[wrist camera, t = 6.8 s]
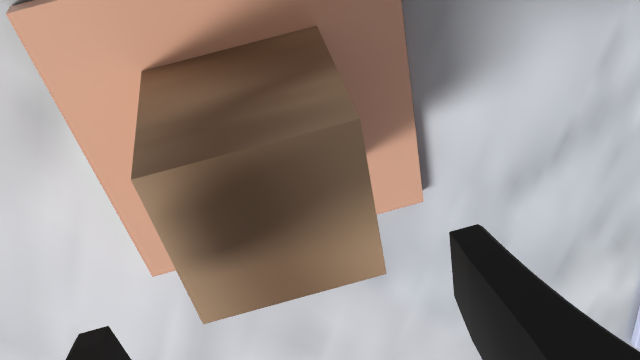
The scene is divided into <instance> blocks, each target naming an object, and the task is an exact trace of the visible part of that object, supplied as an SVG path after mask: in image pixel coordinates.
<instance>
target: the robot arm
mask: <svg viewBox="0 0 640 360" xmlns="http://www.w3.org/2000/svg"><path fill="white" fill-rule="evenodd" d="M449 234H450V247H451V260H452V273H453V286H454V296H455V299H456V301H457V304H458V306H459V309H460V312H461V314H462V317H463V319H464V322H465V324H466V326H467V329H468V331H469V334H470V336H471V338H472V341H473V343H474V344H475V346H476V348H477V350H478V352H479V354H480V356H481V358H482V359H483V360H640V352H639V351H638V350H636V349H640V307H639V311H638V315H637V319H636V324H635V328H634V332H633V336H632V344H633V345H634V347H635V348H636V349H634V348H633V347H631V346H630V345H628V344H627V343H625V342H624V341H622V340H621V339H619V338H618V337H616V336H615V335H613V334H612V333H610V332H609V331H608V330H606V329H605V328H603V327H602V326H600V325H599V324H598V323H596V322H595V321H594V320H592V319H591V318H589V317H588V316H587V315H585V314H584V313H583V312H581V311H580V310H579V309H577V308H576V307H575V306H573V305H572V304H571V303H569V302H568V301H567V300H565V299H564V298H563V297H562V296H561V295H559V294H558V293H557V292H556V291H554V290H553V289H552V288H551V287H549V286H548V285H547V284H546V283H544V282H543V281H542V280H541V279H540V278H538V277H537V276H536V275H535V274H534V273H532V272H531V271H530V270H529V269H528V268H527V267H525V266H524V265H523V264H522V263H521V262H520V261H519V260H518V259H516V258H515V257H514V256H513V255H512V254H511V253H510V252H509V251H508V250H506V249H505V248H504V247H503V246H502V245H501V244H500V243H499V242H498V241H497V240H496V239H495V238H494V237H493V236H492V235H491V234H490V233H489V232H488V231H487V230H486V229H485V228H484V227H482V226H480V225H478V224H477V225H473V226H469V227H466V228H462V229H459V230H455V231H451V232H449ZM66 360H131V359H130V357H129V356H128V354H127V353H126V351H125V350H124V348H123V347H122V345H121V344H120V342H119V341H118V339H117V338H116V336H115V335H114V334H113V332H112V331H111V329H110V328H109V326H106V327H103V328H99V329H96V330H92V331H88V332H85V333H81V334H79V335H78V337H77V339H76V340H75V342H74V344H73V346H72V348H71V350H70V352H69V354H68V356H67V358H66Z"/></svg>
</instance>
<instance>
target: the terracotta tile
mask: <svg viewBox="0 0 640 360" xmlns="http://www.w3.org/2000/svg"><path fill="white" fill-rule="evenodd" d="M6 15H7V17H8V18H9V20H10V22H11V24H12V26H13V27H14V29H15V31H16V33H17V35H18V36H19V38H20V40H21V42H22V44H23V45H24V47H25V49H26V51H27V53H28V54H29V56H30V58H31V60H32V61H33V63H34V65H35V67H36V69H37V70H38V72H39V74H40V76H41V78H42V79H43V81H44V83H45V85H46V87H47V88H48V90H49V92H50V94H51V96H52V97H53V99H54V101H55V103H56V104H57V106H58V108H59V110H60V112H61V113H62V115H63V117H64V119H65V121H66V122H67V124H68V126H69V128H70V130H71V131H72V133H73V135H74V137H75V139H76V140H77V142H78V144H79V146H80V147H81V149H82V151H83V153H84V155H85V156H86V158H87V160H88V162H89V164H90V165H91V167H92V169H93V171H94V173H95V174H96V176H97V178H98V180H99V182H100V183H101V185H102V187H103V189H104V190H105V192H106V194H107V196H108V198H109V199H110V201H111V203H112V205H113V207H114V208H115V210H116V212H117V214H118V216H119V217H120V219H121V221H122V223H123V225H124V226H125V228H126V230H127V232H128V233H129V235H130V237H131V239H132V241H133V242H134V244H135V246H136V248H137V250H138V251H139V253H140V255H141V257H142V259H143V260H144V262H145V264H146V266H147V268H148V269H149V271H150V273H151V275H152V276H153V277H154V276H157V275H161V274H164V273H168V272H172V271H175V270H176V269H175V267H174V265H173V263H172V261H171V259H170V257H169V255H168V253H167V251H166V249H165V247H164V245H163V243H162V241H161V239H160V237H159V235H158V233H157V231H156V229H155V227H154V225H153V223H152V221H151V219H150V217H149V215H148V213H147V211H146V209H145V207H144V205H143V203H142V201H141V199H140V197H139V195H138V193H137V191H136V189H135V187H134V185H133V183H132V181H131V172H132V162H133V152H134V142H135V132H136V122H137V112H138V102H139V92H140V82H141V72H142V71H144V70H148V69H152V68H156V67H159V66H163V65H167V64H171V63H175V62H179V61H183V60H186V59H190V58H194V57H198V56H202V55H206V54H209V53H213V52H217V51H221V50H225V49H229V48H233V47H236V46H240V45H244V44H248V43H252V42H256V41H260V40H263V39H267V38H271V37H275V36H279V35H283V34H287V33H290V32H294V31H298V30H302V29H306V28H310V27H313V26H317V27H318V29H319V31H320V33H321V36H322V38H323V40H324V42H325V44H326V46H327V49H328V51H329V53H330V55H331V57H332V59H333V61H334V64H335V66H336V68H337V70H338V72H339V74H340V77H341V79H342V81H343V83H344V85H345V87H346V89H347V92H348V94H349V96H350V98H351V100H352V102H353V105H354V107H355V109H356V111H357V113H358V115H359V117H360V121H361V127H362V133H363V139H364V145H365V150H366V156H367V162H368V168H369V174H370V180H371V186H372V192H373V198H374V203H375V209H376V215H377V214H381V213H384V212H388V211H391V210H395V209H399V208H402V207H406V206H409V205H413V204H417V203H420V202H423V193H422V184H421V175H420V165H419V156H418V147H417V138H416V129H415V120H414V111H413V101H412V92H411V83H410V74H409V65H408V56H407V47H406V37H405V28H404V19H403V10H402V1H401V0H32V1H29V2H25V3H21V4H17V5H13V6H10V8H9V9H8V11H7V13H6Z"/></svg>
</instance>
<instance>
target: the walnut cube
mask: <svg viewBox="0 0 640 360" xmlns="http://www.w3.org/2000/svg"><path fill="white" fill-rule="evenodd" d="M131 181H132V183H133V185H134V187H135V189H136V191H137V193H138V195H139V197H140V199H141V201H142V203H143V205H144V207H145V209H146V211H147V213H148V215H149V217H150V219H151V221H152V223H153V225H154V227H155V229H156V231H157V233H158V235H159V237H160V239H161V241H162V243H163V245H164V247H165V249H166V251H167V253H168V255H169V257H170V259H171V261H172V263H173V265H174V267H175V269H176V271H177V273H178V275H179V277H180V279H181V281H182V283H183V285H184V287H185V289H186V291H187V293H188V295H189V297H190V299H191V301H192V303H193V305H194V307H195V309H196V311H197V313H198V315H199V317H200V319H201V321H202V323H203V324H206V323H210V322H213V321H217V320H220V319H224V318H228V317H231V316H235V315H239V314H242V313H246V312H249V311H253V310H257V309H260V308H264V307H268V306H271V305H275V304H279V303H282V302H286V301H289V300H293V299H297V298H300V297H304V296H308V295H311V294H315V293H318V292H322V291H326V290H329V289H333V288H337V287H340V286H344V285H348V284H351V283H355V282H358V281H362V280H366V279H369V278H373V277H377V276H380V275H384V274H386V268H385V262H384V256H383V251H382V245H381V239H380V233H379V227H378V221H377V215H376V209H375V203H374V198H373V192H372V186H371V180H370V174H369V168H368V162H367V156H366V150H365V145H364V139H363V133H362V127H361V121H360V117H359V115H358V113H357V111H356V109H355V107H354V105H353V102H352V100H351V98H350V96H349V94H348V92H347V89H346V87H345V85H344V83H343V81H342V79H341V77H340V74H339V72H338V70H337V68H336V66H335V64H334V61H333V59H332V57H331V55H330V53H329V51H328V49H327V46H326V44H325V42H324V40H323V38H322V36H321V33H320V31H319V29H318V27H317V26H313V27H310V28H306V29H302V30H298V31H294V32H290V33H287V34H283V35H279V36H275V37H271V38H267V39H263V40H260V41H256V42H252V43H248V44H244V45H240V46H236V47H233V48H229V49H225V50H221V51H217V52H213V53H209V54H206V55H202V56H198V57H194V58H190V59H186V60H183V61H179V62H175V63H171V64H167V65H163V66H159V67H156V68H152V69H148V70H144V71H142V72H141V82H140V92H139V102H138V112H137V122H136V132H135V142H134V152H133V162H132V172H131Z"/></svg>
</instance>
